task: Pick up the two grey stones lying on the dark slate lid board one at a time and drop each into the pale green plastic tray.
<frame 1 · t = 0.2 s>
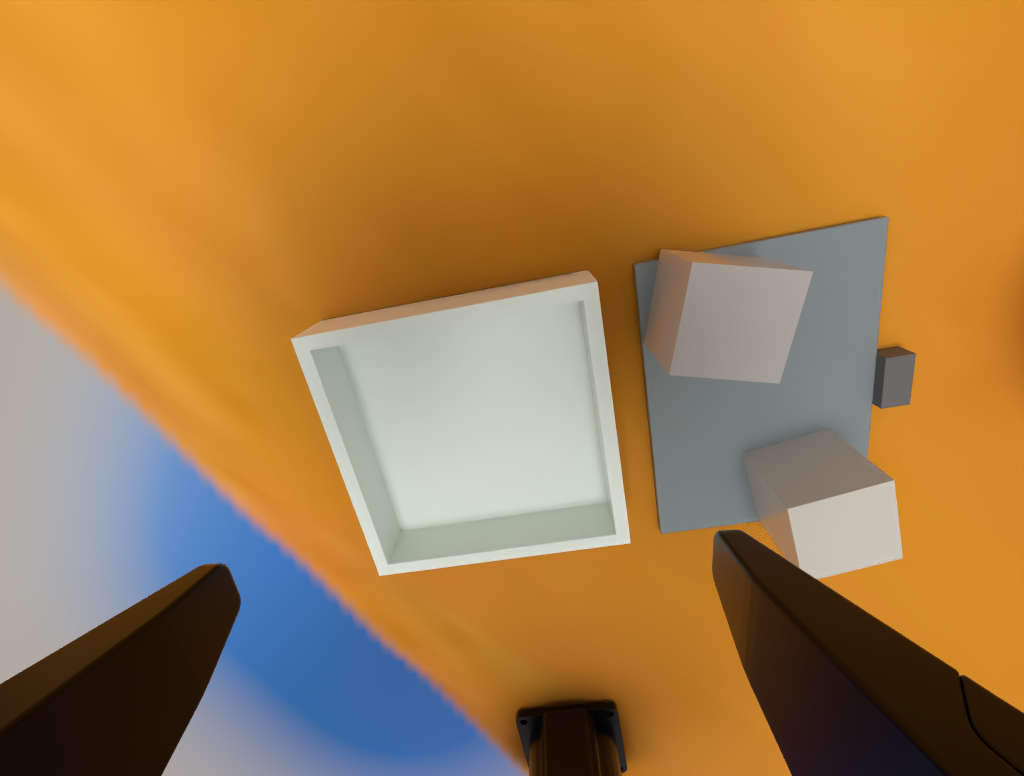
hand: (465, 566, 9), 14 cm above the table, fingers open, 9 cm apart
lid board: (755, 393, 22), on the table
stone 1: (791, 475, 24), resting on lid board
stone 2: (698, 300, 20), resting on lid board
tray: (480, 418, 23), on the table
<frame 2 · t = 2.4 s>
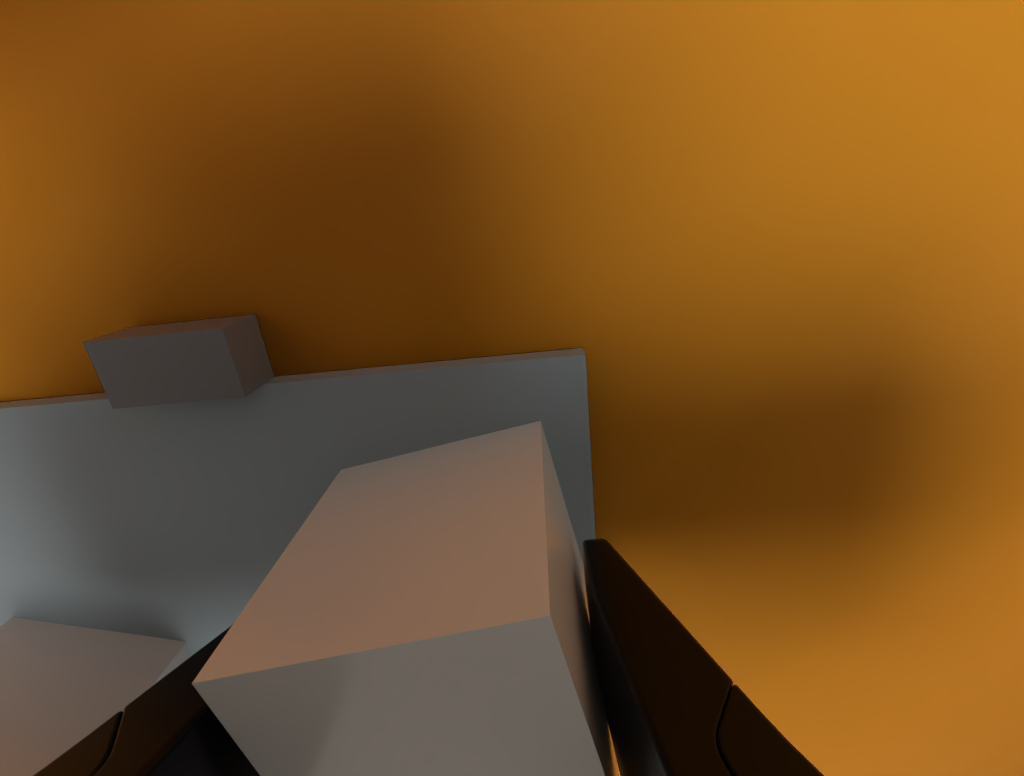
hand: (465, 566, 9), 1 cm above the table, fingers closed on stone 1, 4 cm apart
lid board: (287, 586, 11), on the table
stone 1: (470, 530, 10), resting on lid board, touching gripper
stone 2: (113, 688, 12), resting on lid board
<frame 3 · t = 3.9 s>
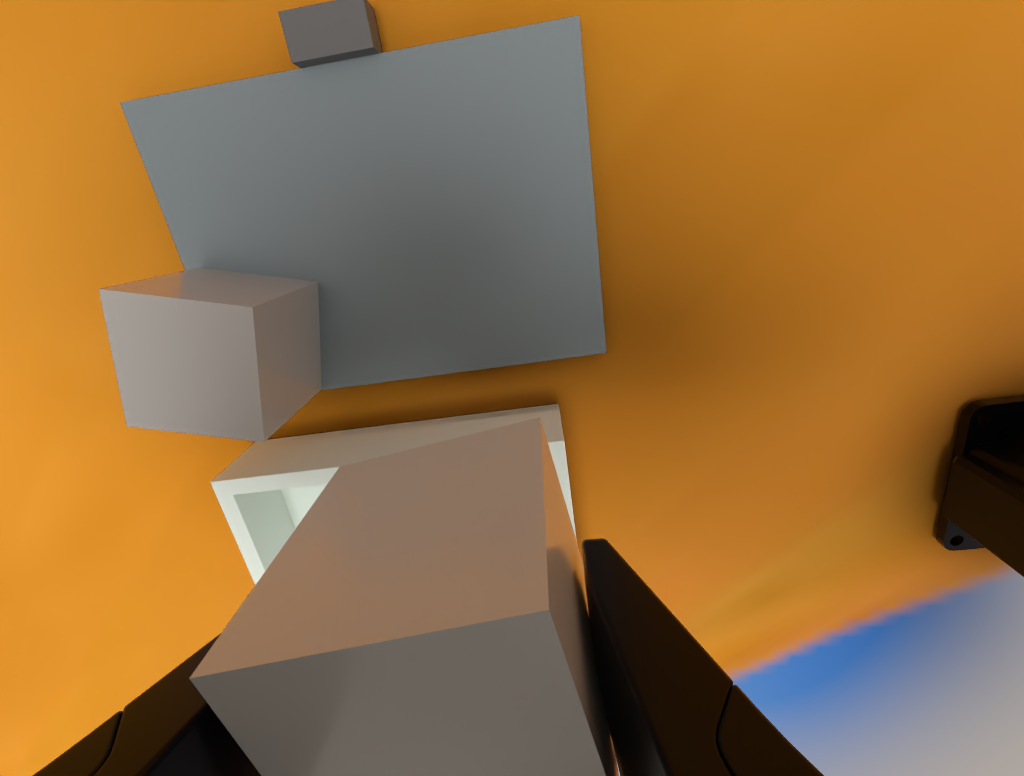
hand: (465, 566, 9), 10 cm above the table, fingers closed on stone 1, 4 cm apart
lid board: (385, 236, 16), on the table
stone 1: (469, 527, 10), point 9 cm above the table, touching gripper
stone 2: (264, 331, 17), resting on lid board
tray: (435, 547, 21), on the table
when the fingers open (5 cm above the table, at t = 5.5 s): stone 1 drops 3 cm, resting on tray.
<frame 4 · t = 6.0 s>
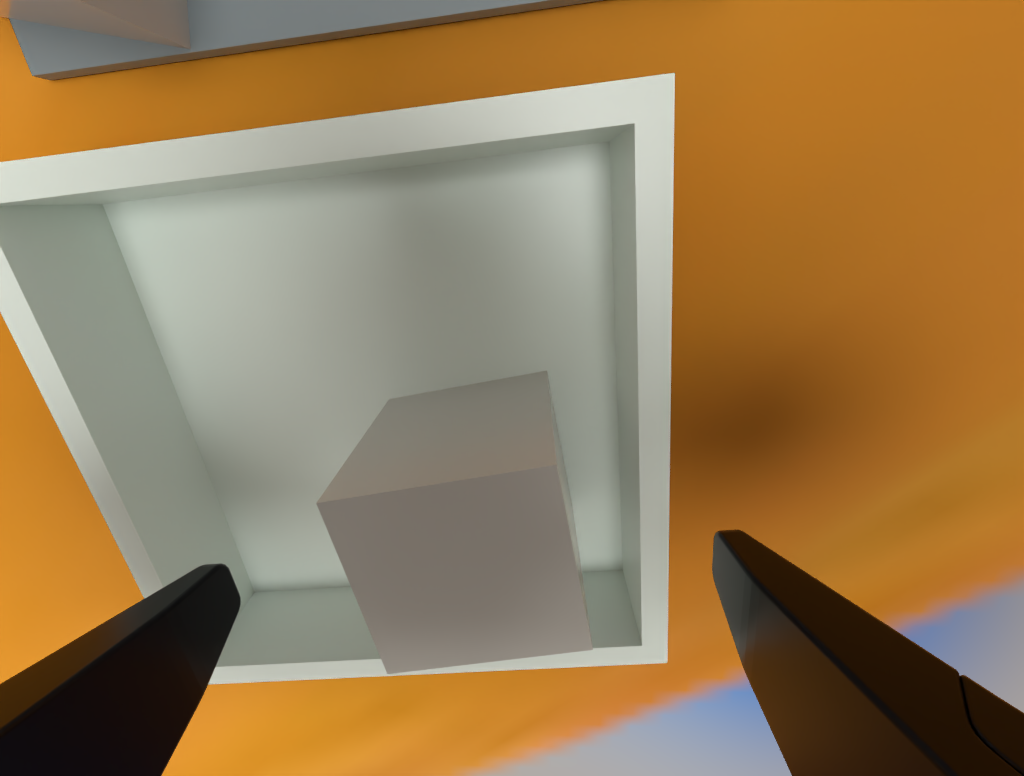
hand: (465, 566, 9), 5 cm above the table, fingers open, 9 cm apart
stone 1: (484, 455, 12), resting on tray
tray: (402, 403, 13), on the table
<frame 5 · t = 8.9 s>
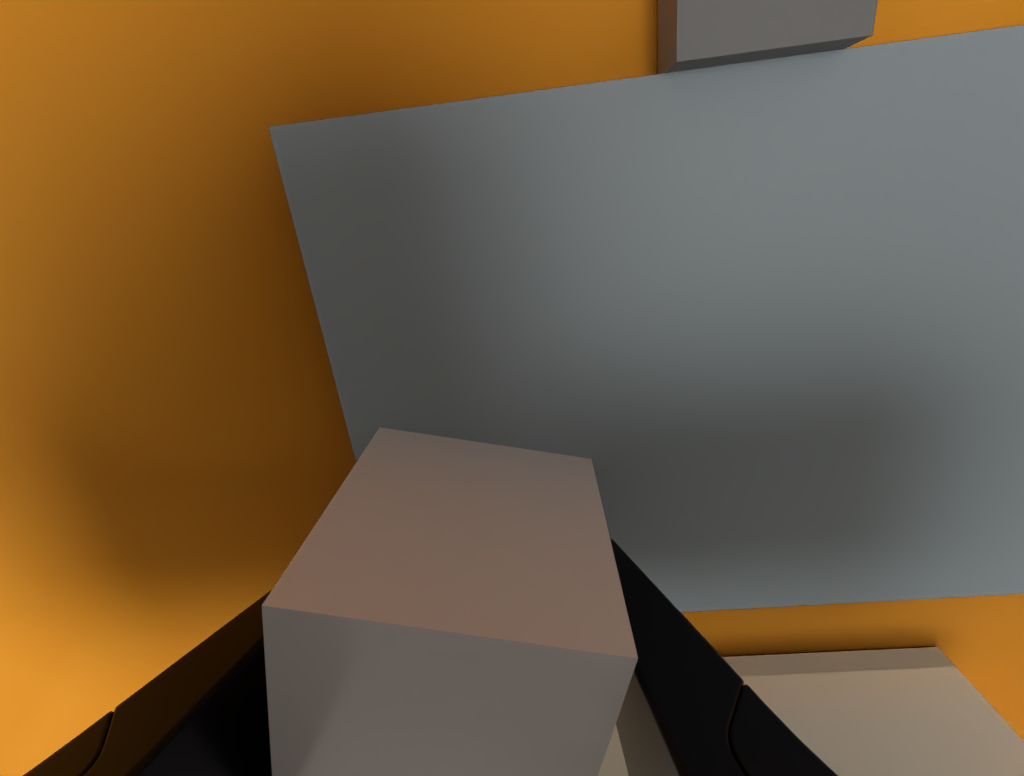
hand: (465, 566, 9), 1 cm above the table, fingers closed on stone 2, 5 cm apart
lid board: (723, 386, 9), on the table
stone 2: (473, 529, 10), resting on lid board, touching gripper
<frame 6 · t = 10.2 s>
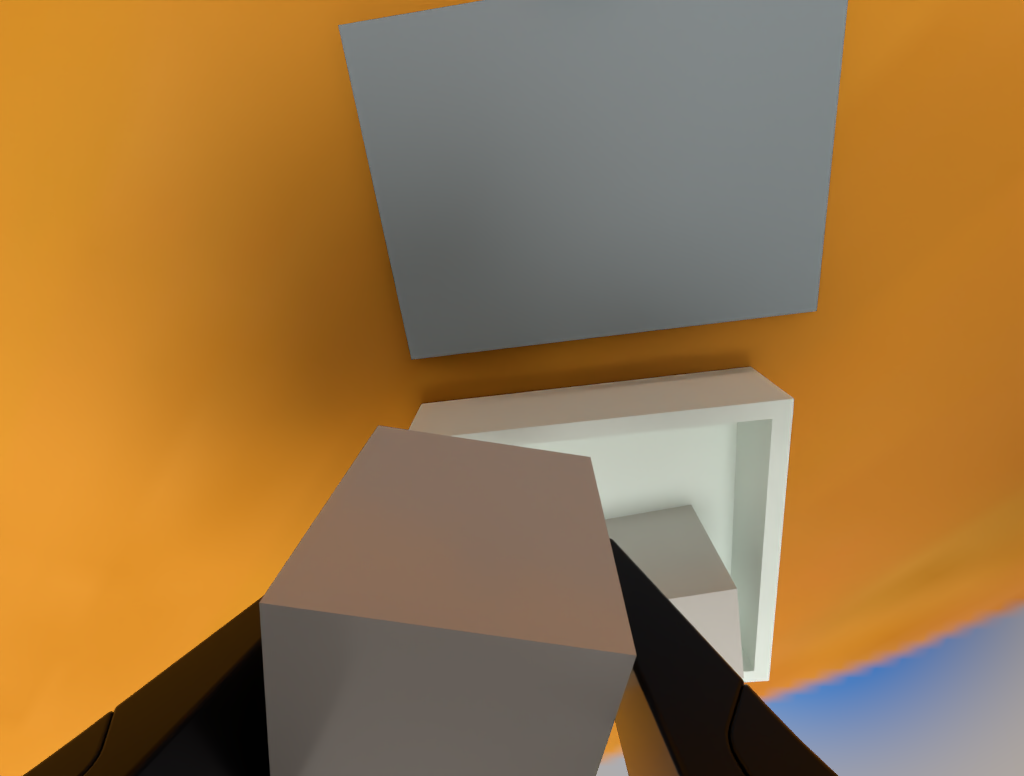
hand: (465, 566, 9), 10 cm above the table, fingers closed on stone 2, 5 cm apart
lid board: (596, 181, 15), on the table
stone 1: (646, 552, 20), resting on tray
stone 2: (472, 528, 10), point 9 cm above the table, touching gripper
tray: (593, 520, 20), on the table
when the fingers open (4 cm above the table, at t = 11.6 s): stone 2 drops 3 cm, resting on tray.
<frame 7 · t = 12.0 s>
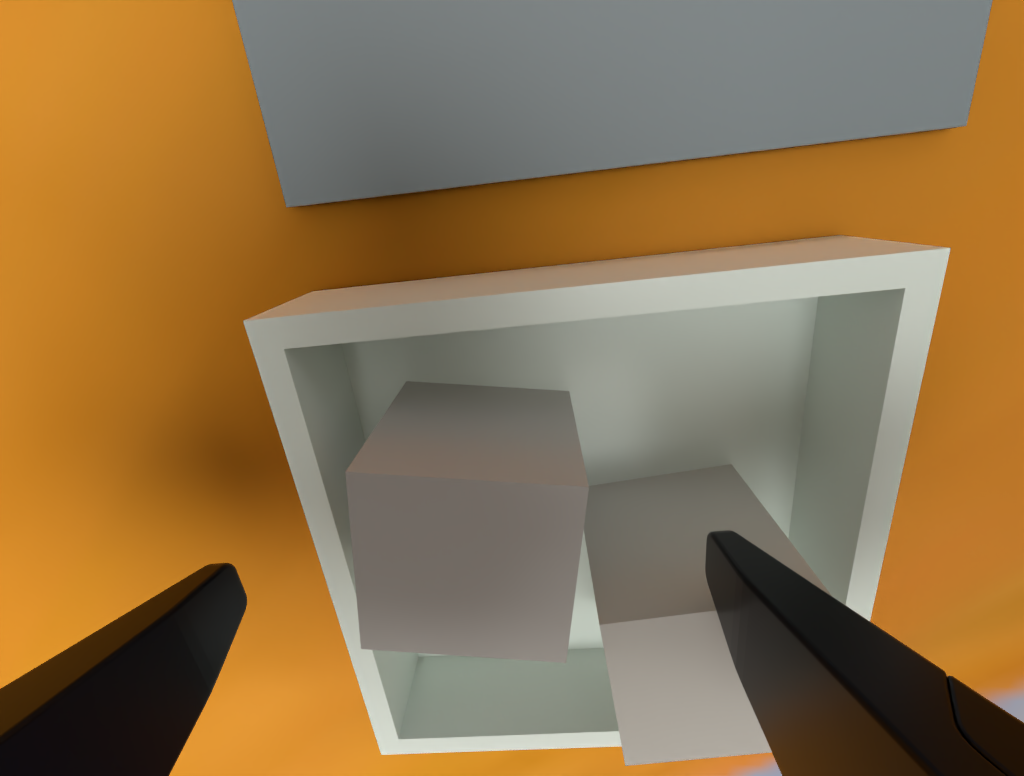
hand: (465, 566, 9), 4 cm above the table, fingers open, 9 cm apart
stone 1: (659, 537, 13), resting on tray
stone 2: (485, 457, 12), resting on tray
tray: (580, 488, 13), on the table
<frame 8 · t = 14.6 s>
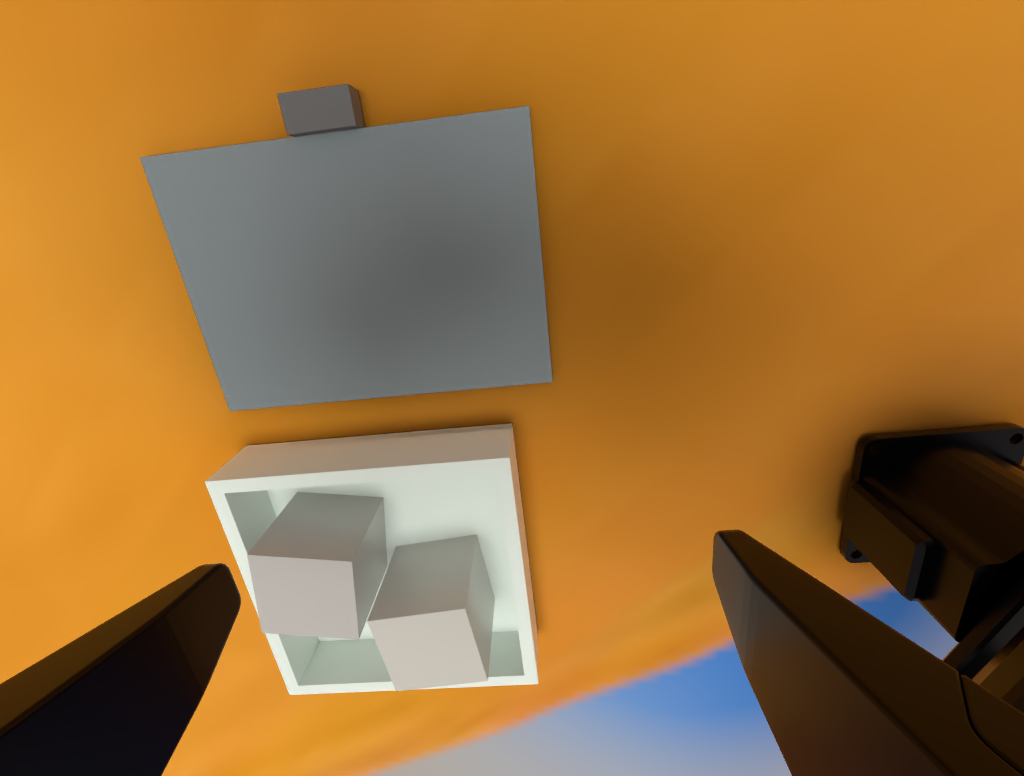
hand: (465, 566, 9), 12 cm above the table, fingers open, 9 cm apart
lid board: (364, 276, 19), on the table
stone 1: (446, 573, 23), resting on tray
stone 2: (343, 530, 23), resting on tray
tray: (402, 544, 24), on the table
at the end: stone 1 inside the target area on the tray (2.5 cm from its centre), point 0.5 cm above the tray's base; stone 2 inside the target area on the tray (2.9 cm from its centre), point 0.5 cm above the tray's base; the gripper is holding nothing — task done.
